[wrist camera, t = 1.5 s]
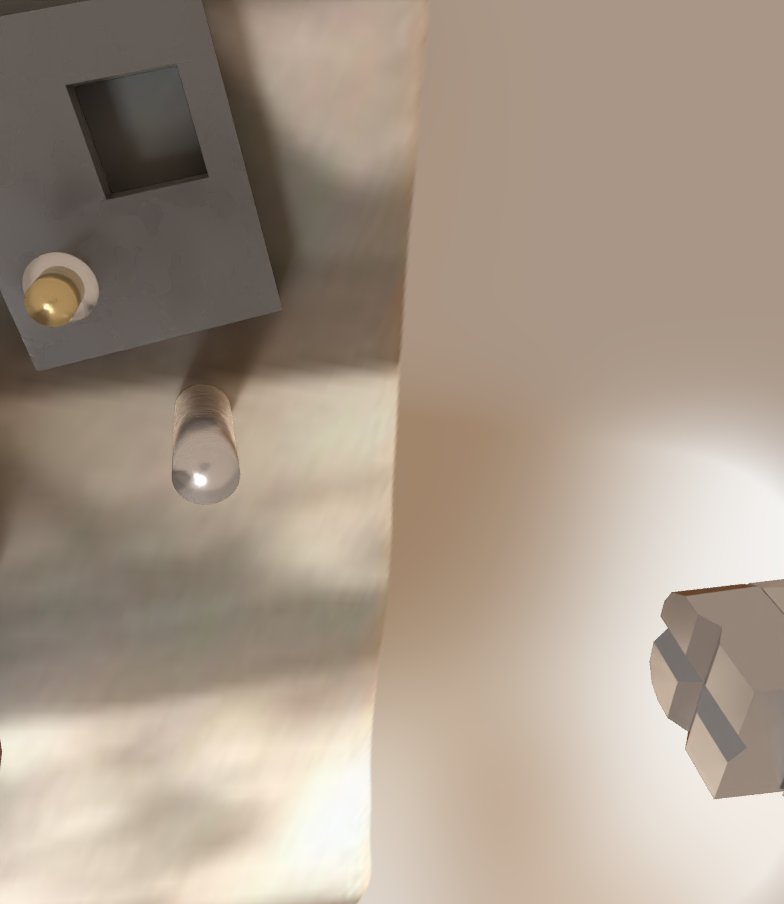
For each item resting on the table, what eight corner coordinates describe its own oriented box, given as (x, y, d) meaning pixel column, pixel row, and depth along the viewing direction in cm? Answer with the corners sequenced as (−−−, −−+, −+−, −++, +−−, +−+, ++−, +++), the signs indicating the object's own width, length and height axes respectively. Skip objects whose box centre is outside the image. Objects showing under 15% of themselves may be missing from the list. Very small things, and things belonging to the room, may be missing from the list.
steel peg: (237, 426, 40) (247, 493, 33) (184, 440, 40) (184, 511, 33) (221, 378, 39) (229, 437, 32) (167, 392, 38) (162, 456, 32)
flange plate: (277, 298, 38) (290, 326, 33) (46, 355, 36) (24, 394, 31) (195, -11, 31) (197, -32, 26) (-92, 41, 29) (-146, 29, 25)
